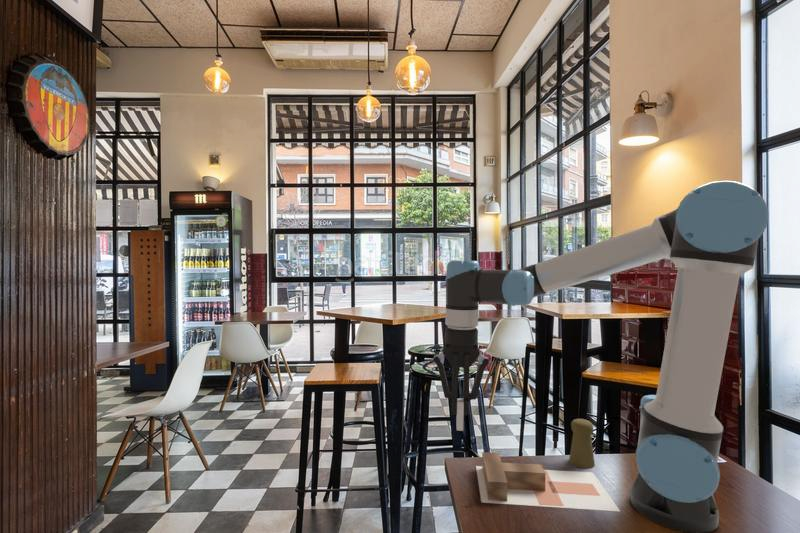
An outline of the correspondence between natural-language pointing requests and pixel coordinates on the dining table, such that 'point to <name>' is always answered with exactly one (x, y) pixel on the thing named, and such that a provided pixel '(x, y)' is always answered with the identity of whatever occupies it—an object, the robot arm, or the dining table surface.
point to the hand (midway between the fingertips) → (459, 428)
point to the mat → (558, 492)
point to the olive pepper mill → (582, 444)
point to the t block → (510, 476)
